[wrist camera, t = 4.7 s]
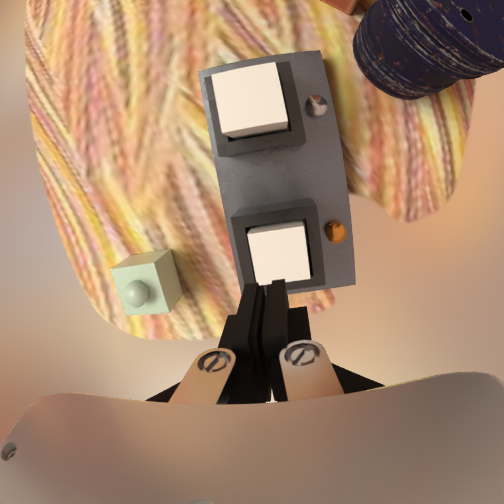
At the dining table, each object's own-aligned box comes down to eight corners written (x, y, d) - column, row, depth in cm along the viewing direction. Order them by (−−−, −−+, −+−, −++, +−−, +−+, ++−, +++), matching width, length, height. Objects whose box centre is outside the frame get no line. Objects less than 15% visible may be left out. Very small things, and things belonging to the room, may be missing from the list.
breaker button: (226, 92, 20) (211, 74, 15) (276, 82, 19) (275, 61, 14) (235, 139, 21) (222, 133, 16) (286, 130, 20) (287, 121, 15)
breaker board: (203, 77, 23) (183, 57, 18) (317, 57, 22) (326, 32, 16) (245, 290, 29) (236, 320, 24) (351, 276, 28) (365, 304, 22)
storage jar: (375, 3, 18) (425, -76, 4) (448, 58, 19) (534, 18, 5) (333, 60, 21) (378, -25, 7) (415, 120, 22) (517, 99, 8)
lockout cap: (130, 255, 30) (104, 273, 25) (171, 248, 29) (148, 267, 24) (143, 297, 31) (121, 321, 26) (183, 293, 31) (165, 319, 25)
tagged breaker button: (254, 220, 25) (247, 234, 20) (299, 213, 24) (303, 226, 20) (262, 263, 26) (257, 285, 21) (305, 257, 26) (310, 278, 21)
